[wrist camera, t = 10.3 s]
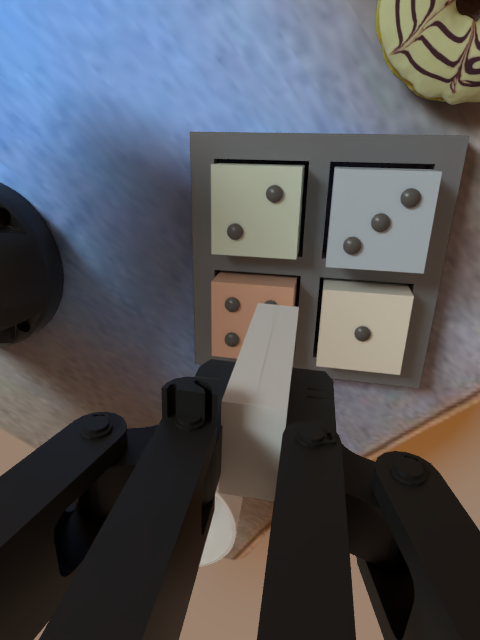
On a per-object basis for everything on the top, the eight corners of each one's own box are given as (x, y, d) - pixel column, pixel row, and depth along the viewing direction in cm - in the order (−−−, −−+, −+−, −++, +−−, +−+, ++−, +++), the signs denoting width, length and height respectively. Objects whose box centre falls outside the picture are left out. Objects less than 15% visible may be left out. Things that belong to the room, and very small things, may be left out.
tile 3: (326, 256, 31) (325, 267, 28) (334, 166, 28) (334, 168, 25) (415, 261, 30) (424, 274, 27) (431, 169, 27) (443, 171, 24)
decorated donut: (515, 123, 28) (540, 120, 24) (352, 87, 29) (355, 79, 25) (604, -81, 24) (651, -119, 20) (410, -115, 25) (423, -157, 21)
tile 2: (221, 245, 33) (210, 254, 30) (221, 162, 31) (210, 164, 28) (299, 250, 32) (296, 260, 29) (305, 165, 30) (302, 166, 27)
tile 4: (220, 340, 36) (211, 357, 33) (220, 271, 34) (210, 282, 31) (292, 347, 35) (288, 365, 32) (297, 276, 33) (294, 288, 30)
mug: (223, 363, 38) (185, 454, 27) (277, 436, 40) (260, 548, 29) (128, 415, 42) (62, 511, 32) (181, 478, 44) (136, 589, 34)
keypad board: (201, 353, 38) (195, 363, 37) (198, 132, 32) (189, 131, 30) (414, 375, 35) (419, 388, 33) (460, 136, 29) (469, 135, 27)
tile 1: (317, 348, 35) (316, 367, 32) (323, 277, 33) (323, 290, 30) (394, 356, 34) (400, 376, 31) (406, 283, 32) (414, 297, 29)
